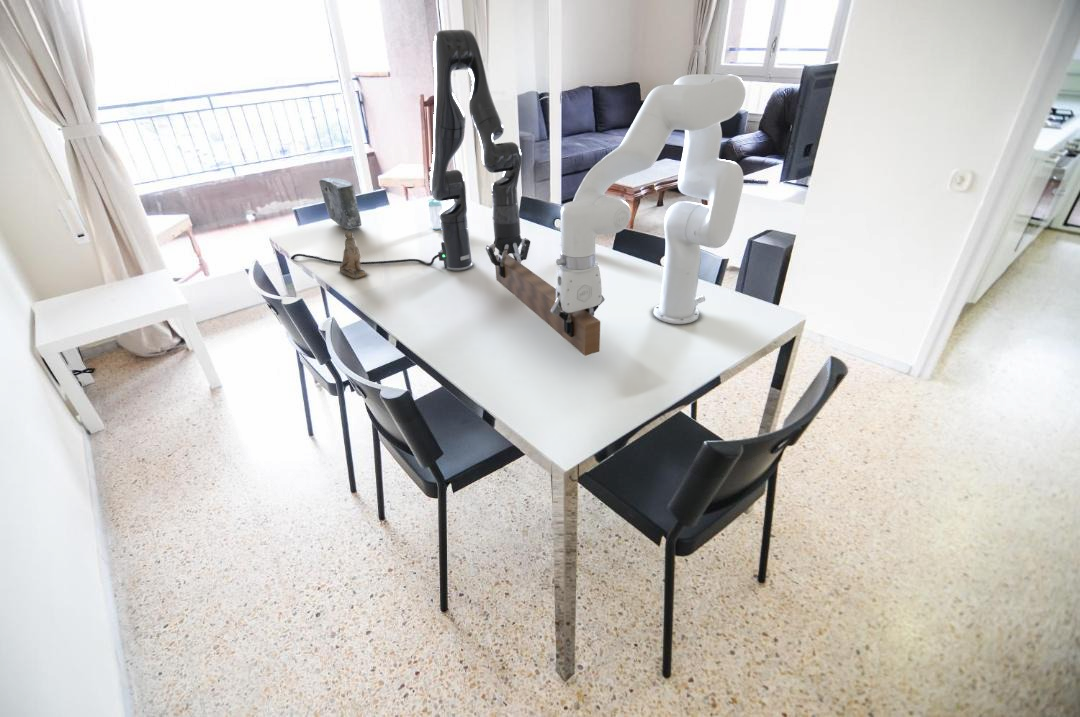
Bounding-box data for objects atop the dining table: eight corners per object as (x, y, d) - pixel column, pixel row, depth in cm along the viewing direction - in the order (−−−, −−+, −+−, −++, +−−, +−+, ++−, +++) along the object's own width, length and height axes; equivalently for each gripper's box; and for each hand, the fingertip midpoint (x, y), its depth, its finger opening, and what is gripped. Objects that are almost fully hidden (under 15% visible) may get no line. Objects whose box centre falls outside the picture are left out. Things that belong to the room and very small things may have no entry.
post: (496, 280, 156) (494, 255, 152) (508, 277, 158) (506, 252, 153) (584, 356, 115) (585, 325, 111) (599, 351, 117) (600, 321, 113)
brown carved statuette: (368, 281, 178) (362, 235, 166) (353, 285, 175) (347, 238, 163) (352, 266, 184) (346, 221, 172) (338, 270, 181) (331, 224, 169)
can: (445, 229, 220) (441, 202, 214) (429, 230, 220) (425, 202, 214) (447, 224, 226) (444, 198, 220) (432, 225, 226) (428, 198, 220)
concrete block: (366, 231, 222) (356, 185, 212) (347, 235, 218) (335, 188, 207) (347, 218, 241) (337, 175, 230) (329, 222, 236) (318, 178, 226)
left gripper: (487, 226, 135) (493, 284, 144) (534, 218, 141) (536, 274, 150) (478, 219, 141) (483, 276, 150) (523, 212, 146) (526, 267, 155)
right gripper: (552, 272, 104) (554, 348, 114) (619, 257, 110) (615, 330, 120) (536, 262, 110) (539, 334, 120) (600, 248, 116) (598, 318, 126)
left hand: (510, 275), depth 150 cm, fingers closed on post, 4 cm apart
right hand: (577, 331), depth 120 cm, fingers closed on post, 4 cm apart
